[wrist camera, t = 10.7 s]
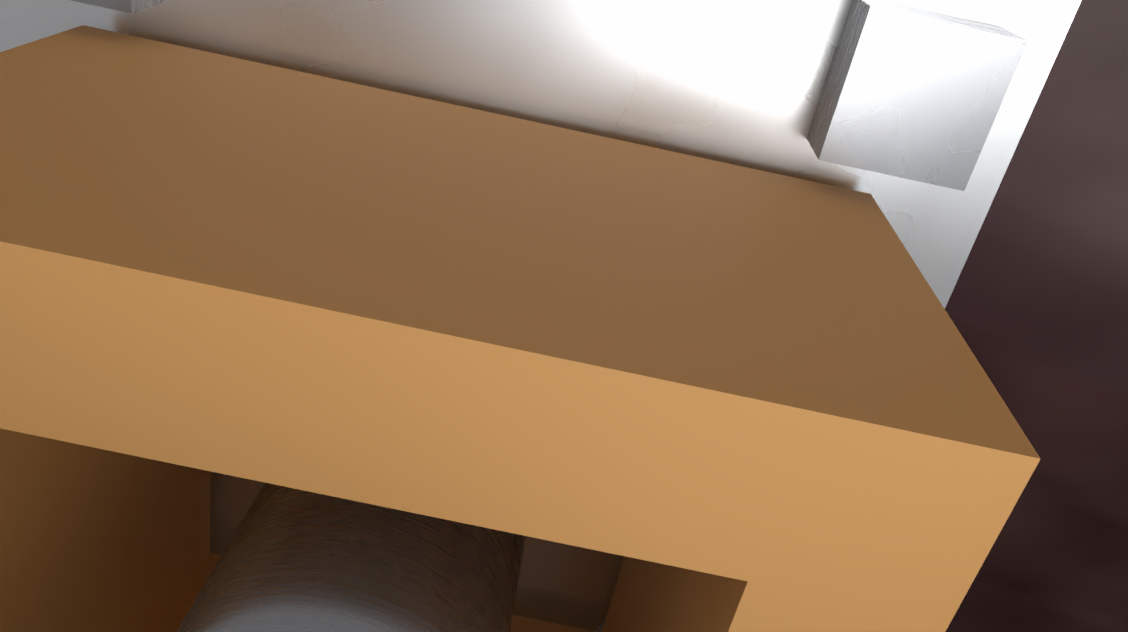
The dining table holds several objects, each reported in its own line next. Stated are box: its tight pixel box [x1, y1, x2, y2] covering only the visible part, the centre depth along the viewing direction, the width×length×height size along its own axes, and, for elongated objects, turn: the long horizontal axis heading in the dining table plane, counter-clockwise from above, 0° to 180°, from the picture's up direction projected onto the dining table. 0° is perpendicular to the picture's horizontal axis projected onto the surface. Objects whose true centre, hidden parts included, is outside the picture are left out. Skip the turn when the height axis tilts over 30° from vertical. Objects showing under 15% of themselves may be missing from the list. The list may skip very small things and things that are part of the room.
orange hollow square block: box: [0, 25, 1040, 632], centre depth 10 cm, size 9×9×5 cm
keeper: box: [0, 0, 1081, 632], centre depth 10 cm, size 14×12×8 cm
